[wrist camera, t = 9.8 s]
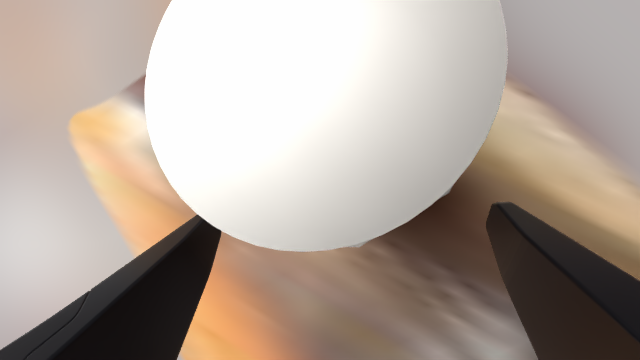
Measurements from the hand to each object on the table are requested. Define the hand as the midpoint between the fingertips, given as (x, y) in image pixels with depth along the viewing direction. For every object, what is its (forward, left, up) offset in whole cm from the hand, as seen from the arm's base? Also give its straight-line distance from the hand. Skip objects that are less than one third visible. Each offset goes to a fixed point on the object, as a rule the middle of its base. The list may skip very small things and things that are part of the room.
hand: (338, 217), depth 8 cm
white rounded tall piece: (+3, -1, -8) cm, 8 cm away
